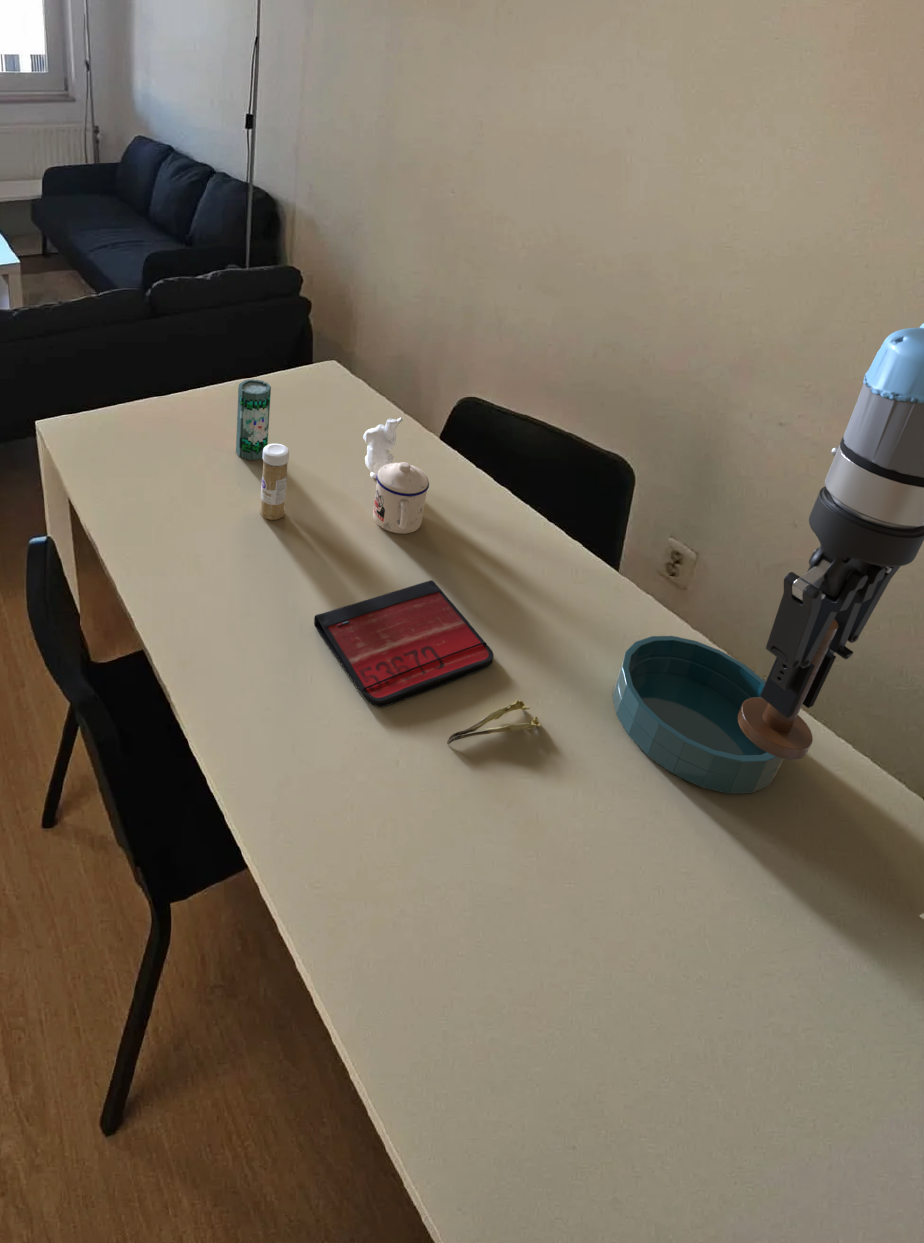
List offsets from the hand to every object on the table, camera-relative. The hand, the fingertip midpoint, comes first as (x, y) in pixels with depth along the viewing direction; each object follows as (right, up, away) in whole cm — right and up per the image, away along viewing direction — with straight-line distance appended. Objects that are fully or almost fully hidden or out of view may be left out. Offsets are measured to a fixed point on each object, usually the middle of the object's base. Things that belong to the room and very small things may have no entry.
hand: (786, 700), depth 73 cm
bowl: (+4, -15, +23) cm, 27 cm away
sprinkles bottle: (-48, +4, +60) cm, 77 cm away
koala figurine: (-27, +8, +73) cm, 78 cm away
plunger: (0, -4, +2) cm, 5 cm away
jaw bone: (-22, -15, +21) cm, 34 cm away
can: (-52, +12, +79) cm, 95 cm away
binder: (-30, -9, +34) cm, 46 cm away
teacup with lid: (-26, +2, +59) cm, 64 cm away
